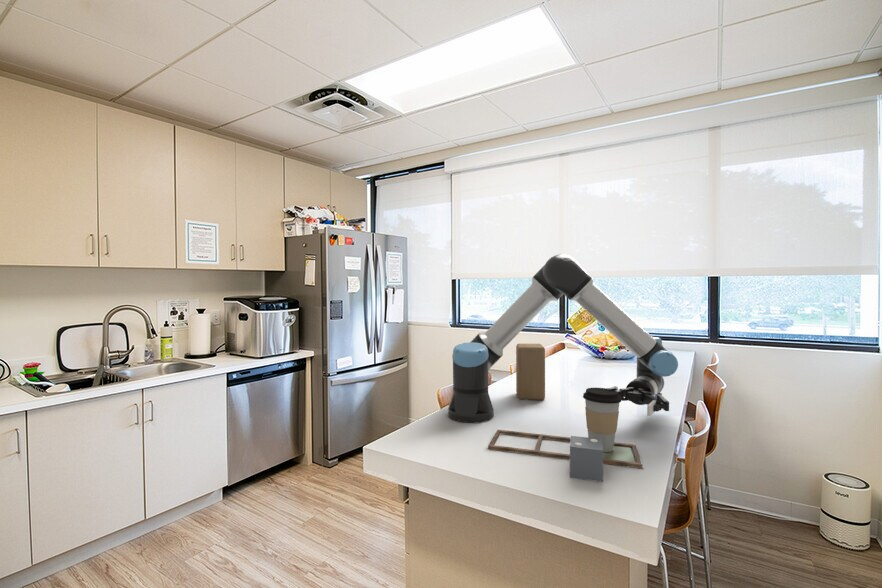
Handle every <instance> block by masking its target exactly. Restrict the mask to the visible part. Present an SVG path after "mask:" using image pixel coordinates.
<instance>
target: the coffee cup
mask: <svg viewBox="0 0 882 588" xmlns="http://www.w3.org/2000/svg"><path fill="white" fill-rule="evenodd" d="M606 388H607V387H606ZM606 388H605V387H588V388H586V389H585V392H583V394H582V398H583V399H584V400H585V402H584V403H585V406H584V407H585V410H584V411H585V420H586V428H587V436H588V437H587V438H597V439H602V444H603V452H611V451H613V448H614V442H615V439H616V433H617V430H618V421H619V415H620V414H619V413H620V411H619V410H620V403H621V402H622V400H621V397H620V396H619V395H618V392H617V391H615V390H611V389H606Z"/></svg>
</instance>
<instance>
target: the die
mask: <svg viewBox="0 0 882 588" xmlns="http://www.w3.org/2000/svg"><path fill="white" fill-rule="evenodd" d="M570 437H571V439H570V442H569V454H570V459H569V478H572V479H579V480H580V479H581V480H587V481H594V482H601V483H603V482H604V463H603V444H602V439H597V438H588V437H587V436H586V437H585V436H577V435H570Z"/></svg>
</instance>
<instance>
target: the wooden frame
mask: <svg viewBox="0 0 882 588" xmlns="http://www.w3.org/2000/svg"><path fill="white" fill-rule="evenodd" d="M500 435H509V436H516V437H517V436H518V437H525V438H536V439H537V440H536V441H537V442H536V445H535V448H534V449H527V448H520V447H511V446H504V445H495V444H496V442H497V441H498V439H499V438H500ZM543 439H545V440H550V441H551V440H554V441H562V442H569V443H570V439H571V436H569V437H568V436H559V435H552V434H551V435H550V434H544V433H542V434H541V433H534V432H533V433H532V432H524V431H516V430H515V431H514V430H505V429H497V430H496V432H495V433H494V435H493V437H492V439H491V440H490V442H489V444H488V445H487V449H488V450H494V451H502V452H510V453H517V454H525V455H526V454H527V455H534V456H540V457H541V456H542V457H548V458H549V457H550V458H558V459H565V460H570V453H569V454H567V453H562V452H561V453H560V452H552V451H544V450H541V446H542V443H543ZM604 464H605V465H613V466H618V467H619V466H620V467H627V466H629V467H630V468H635V467H638V468H637V469H643V463H642V459H641V457H640V454H639V450H638V447H637V444H633V443H625V442H615V441H614V448H613V451H611V452H603V465H604ZM629 467H628V468H629Z"/></svg>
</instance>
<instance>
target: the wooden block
mask: <svg viewBox="0 0 882 588" xmlns="http://www.w3.org/2000/svg"><path fill="white" fill-rule="evenodd" d="M515 348H516V349H515V355H516V358H515V360H516V361H515V364H516V365H515V367H516V368H515V373H516V374H515V375H516V377H515V378H516V380H515V386H516V387H515V389H516V390H515V391H516V394H517V398H518V399H519V400H521V399H530V400H529V401H532V400H533V401H544V400H545V399H546V349H545V347H544V346H543V345H542V344H540V343H517V344H516V346H515Z"/></svg>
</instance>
